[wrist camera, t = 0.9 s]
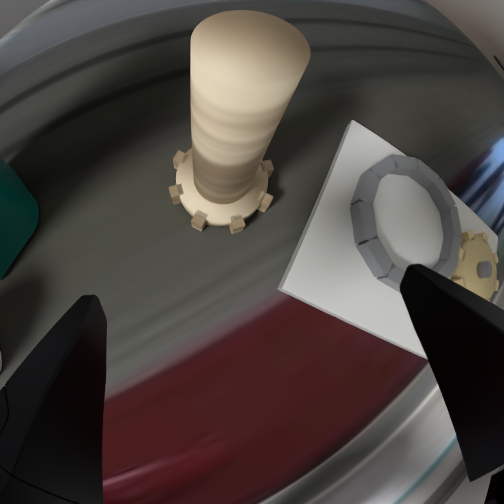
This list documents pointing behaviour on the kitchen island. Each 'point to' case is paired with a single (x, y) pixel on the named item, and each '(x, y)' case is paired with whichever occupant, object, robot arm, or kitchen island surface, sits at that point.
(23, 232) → the pitcher
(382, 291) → the gear board
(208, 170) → the disc
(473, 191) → the kitchen island surface
